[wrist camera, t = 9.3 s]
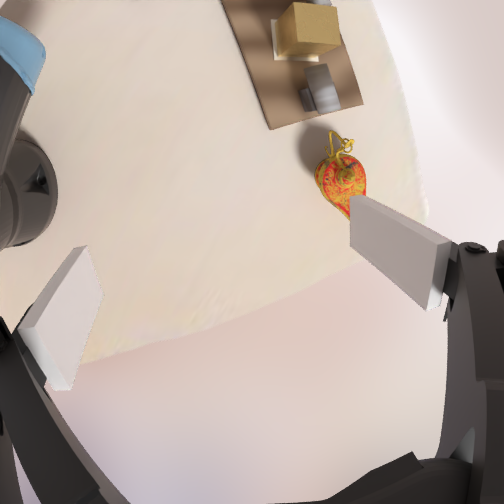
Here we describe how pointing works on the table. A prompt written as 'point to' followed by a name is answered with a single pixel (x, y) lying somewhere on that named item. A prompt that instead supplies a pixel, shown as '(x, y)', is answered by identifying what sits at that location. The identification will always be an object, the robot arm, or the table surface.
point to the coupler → (307, 30)
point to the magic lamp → (341, 176)
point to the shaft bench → (290, 66)
